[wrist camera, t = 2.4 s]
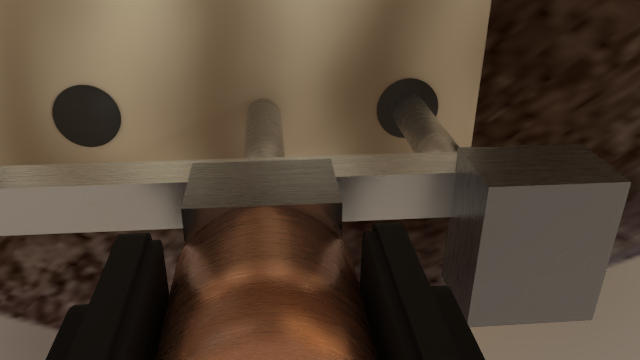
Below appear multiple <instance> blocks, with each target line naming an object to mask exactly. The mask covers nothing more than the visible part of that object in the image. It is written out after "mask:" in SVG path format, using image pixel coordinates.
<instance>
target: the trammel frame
mask: <svg viewBox="0 0 640 360" xmlns="http://www.w3.org/2000/svg"><path fill="white" fill-rule="evenodd" d="M391 113H392V116H393V118H394V120H395V122H396V123H397V125H398V127H399V128H400V130H401V132H402V133H403V135H404V137H405V139H406V140H407V142H408V144H409V145H410V147H411V149H412V150H413V152H414V153H395V154H364V155H332V156H300V157H268V158H237V159H205V160H173V161H141V162H110V163H78V164H46V165H14V166H0V236H11V235H35V234H59V233H82V232H106V231H130V230H154V229H178V228H183V223H182V214H181V207H182V203H183V199H184V195H185V190H186V186H187V182H188V178H189V174H190V170H191V166H192V163H216V162H247V161H278V160H309V159H331V162H332V165H333V169H334V173H335V176H336V180H337V184H338V188H339V191H340V195H341V199H342V202H343V206H342V222H345V221H369V220H393V219H416V218H440V217H449V222H448V229H447V237H446V245H445V253H444V261H443V269H442V277H443V279H444V281H445V283H446V285H447V286H448V287H449V288H450V289H451V291H452V292H453V295H454V297H455V299H456V301H457V303H458V305H459V307H460V309H461V311H462V313H463V315H464V317H465V319H466V321H467V323H468V325H469V327H482V326H498V325H515V324H532V323H548V322H566V321H581V320H582V321H583V320H592V318H593V315H594V311H595V308H596V304H597V301H598V297H599V294H600V290H601V287H602V283H603V280H604V276H605V273H606V269H607V266H608V262H609V259H610V255H611V252H612V248H613V245H614V241H615V238H616V234H617V231H618V227H619V224H620V220H621V217H622V213H623V210H624V206H625V203H626V199H627V196H628V192H629V189H630V185H631V181H630V180H628V179H627V178H626V177H624V176H623V175H622V174H620V173H619V172H618V171H617V170H615V169H614V168H613V167H611V166H610V165H609V164H608V163H606V162H605V161H604V160H602V159H601V158H600V157H599V156H597V155H596V154H595V153H593V152H592V151H591V150H590V149H588V148H587V147H586V146H584V145H583V144H555V145H523V146H490V147H459V146H458V144H457V143H456V142H455V141H454V139H453V138H452V137H451V136H450V134H449V133H448V132H447V131H446V129H445V128H444V127H443V125H442V124H441V123H440V122H439V120H438V119H437V118H436V117H435V115H434V114H433V113H432V112H431V110H430V109H429V108H428V106H427V105H426V104H425V103H424V101H423V100H422V99H421V98H420V97H419V96H418V95H416V94H413V93H406V94H403V95H401V96H399V97H398V98H397V99H396V100H395V101H394V103H393V105H392V108H391Z"/></svg>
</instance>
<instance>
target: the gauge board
mask: <svg viewBox="0 0 640 360" xmlns="http://www.w3.org/2000/svg"><path fill="white" fill-rule="evenodd" d="M490 7H491V0H0V166H14V165H46V164H78V163H110V162H141V161H173V160H205V159H237V158H244V142H245V126H246V112H247V109H248V107H249V105H250V104H251V103H252V102H254V101H256V100H258V99H269V100H271V101H273V102H275V103H276V104H277V105H278V107H279V109H280V111H281V120H282V130H283V140H284V151H285V157H300V156H332V155H364V154H395V153H414V152H413V150H412V149H411V147H410V145H409V144H408V142H407V140H406V139H405V137H404V135H403V133H402V132H401V130H400V128H399V127H398V125H397V123H396V122H395V120H394V118H393V116H392V113H391V108H392V105H393V103H394V101H395V100H396V99H397V98H398V97H399V96H401V95H403V94H406V93H413V94H416V95H418V96H419V97H420V98H421V99H422V100H423V101H424V103H425V104H426V105H427V106H428V108H429V109H430V110H431V112H432V113H433V114H434V115H435V117H436V118H437V119H438V120H439V122H440V123H441V124H442V125H443V127H444V128H445V129H446V131H447V132H448V133H449V134H450V136H451V137H452V138H453V139H454V141H455V142H456V143H457V144H458V146H459V147H471V144H472V137H473V130H474V122H475V115H476V108H477V101H478V94H479V86H480V79H481V72H482V65H483V58H484V50H485V43H486V36H487V29H488V22H489V14H490Z"/></svg>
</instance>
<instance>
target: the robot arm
mask: <svg viewBox="0 0 640 360" xmlns="http://www.w3.org/2000/svg"><path fill="white" fill-rule="evenodd" d="M360 292H361V295H362V299H363V303H364V307H365V311H366V315H367V319H368V323H369V327H370V331H371V335H372V339H373V343H374V347H375V351H376V354H377V358H378V360H485V359H484V357H483V354H482V352H481V351H480V348H479V346H478V344H477V342H476V340H475V338H474V336H473V334H472V332H471V330H470V328H469V325H468V323H467V321H466V319H465V317H464V315H463V313H462V311H461V309H460V307H459V305H458V303H457V301H456V299H455V297H454V295H453V292H452V291H451V289H450V288H449V287H448V286H430V285H429V282H428V280H427V278H426V275H425V273H424V271H423V269H422V266H421V264H420V262H419V259H418V257H417V255H416V252H415V250H414V248H413V246H412V243H411V241H410V239H409V236H408V234H407V232H406V229H405V227H404V225H403V223H401V222H395V223H374V224H373V228H372V231H364V232H363V238H362V258H361V278H360ZM168 300H169V290H168V283H167V275H166V268H165V261H164V254H163V247H162V242H161V240H152V238H151V235H150V234H149V233H136V234H119V235H118V236H117V238H116V240H115V243H114V245H113V248H112V250H111V252H110V255H109V257H108V260H107V262H106V265H105V267H104V269H103V272H102V274H101V277H100V279H99V281H98V284H97V286H96V289H95V291H94V293H93V296H92V298H91V301H90V303H89V304H86V305H74V306H72V307H70V309H69V311H68V312H67V314H66V316H65V318H64V321H63V323H62V325H61V327H60V329H59V332H58V334H57V336H56V338H55V340H54V343H53V345H52V347H51V349H50V351H49V353H48V356H47V358H46V360H155V358H156V354H157V349H158V345H159V340H160V336H161V331H162V327H163V322H164V318H165V313H166V309H167V304H168Z"/></svg>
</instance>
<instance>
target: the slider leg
mask: <svg viewBox="0 0 640 360" xmlns="http://www.w3.org/2000/svg"><path fill="white" fill-rule="evenodd" d="M268 157H285V151H284V140H283V130H282V120H281V111H280V109H279V107H278V105H277V104H276V103H275V102H273V101H271V100H269V99H258V100H256V101H254V102H252V103H251V104H250V105H249V107H248V109H247V112H246V126H245V142H244V158H268ZM342 206H343V202H342V199H341V195H340V191H339V188H338V184H337V180H336V176H335V173H334V169H333V165H332V162H331V159H309V160H278V161H247V162H216V163H192V166H191V170H190V174H189V178H188V182H187V186H186V190H185V195H184V199H183V203H182V207H181V214H182V223H183V232H184V240H185V247H184V249H183V250H182V252H181V255H180V257H179V259H178V262H177V265H176V269H175V273H174V278H173V282H172V287H171V291H170V296H169V300H168V304H167V309H166V313H165V318H164V322H163V327H162V331H161V336H160V340H159V345H158V349H157V354H156V358H155V360H378V358H377V354H376V351H375V347H374V343H373V339H372V335H371V331H370V327H369V323H368V319H367V315H366V311H365V307H364V303H363V299H362V295H361V292H360V288H359V284H358V280H357V276H356V272H355V268H354V264H353V260H352V258H351V255H350V252H349V250H348V248H347V247H346V245H345V243H344V242H343V240H342Z"/></svg>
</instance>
